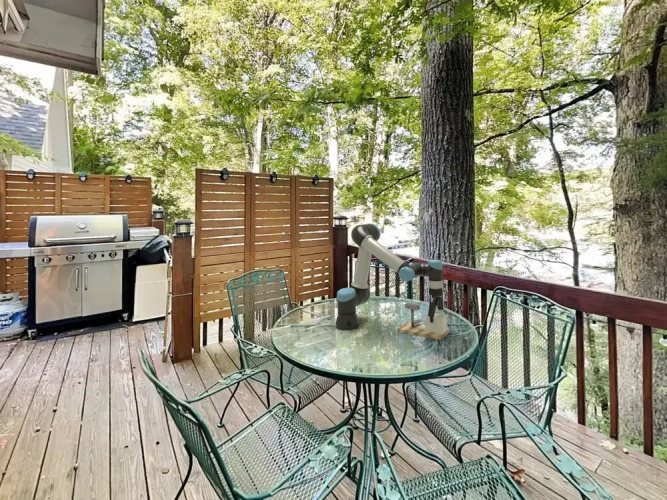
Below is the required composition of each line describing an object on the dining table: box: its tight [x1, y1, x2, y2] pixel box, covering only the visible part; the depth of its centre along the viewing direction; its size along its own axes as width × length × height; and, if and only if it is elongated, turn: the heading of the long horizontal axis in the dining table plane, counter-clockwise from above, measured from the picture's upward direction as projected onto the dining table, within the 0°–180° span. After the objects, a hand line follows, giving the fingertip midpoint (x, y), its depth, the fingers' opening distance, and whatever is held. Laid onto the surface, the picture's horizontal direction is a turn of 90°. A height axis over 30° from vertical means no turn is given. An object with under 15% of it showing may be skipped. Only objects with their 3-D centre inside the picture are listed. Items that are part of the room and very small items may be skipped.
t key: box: [404, 302, 423, 327], centre depth 201 cm, size 10×8×13 cm
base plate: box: [397, 321, 451, 341], centre depth 197 cm, size 26×14×2 cm, turn 55°
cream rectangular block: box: [421, 313, 448, 334], centre depth 192 cm, size 13×7×9 cm, turn 55°
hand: (436, 324), depth 192 cm, fingers open, 13 cm apart
